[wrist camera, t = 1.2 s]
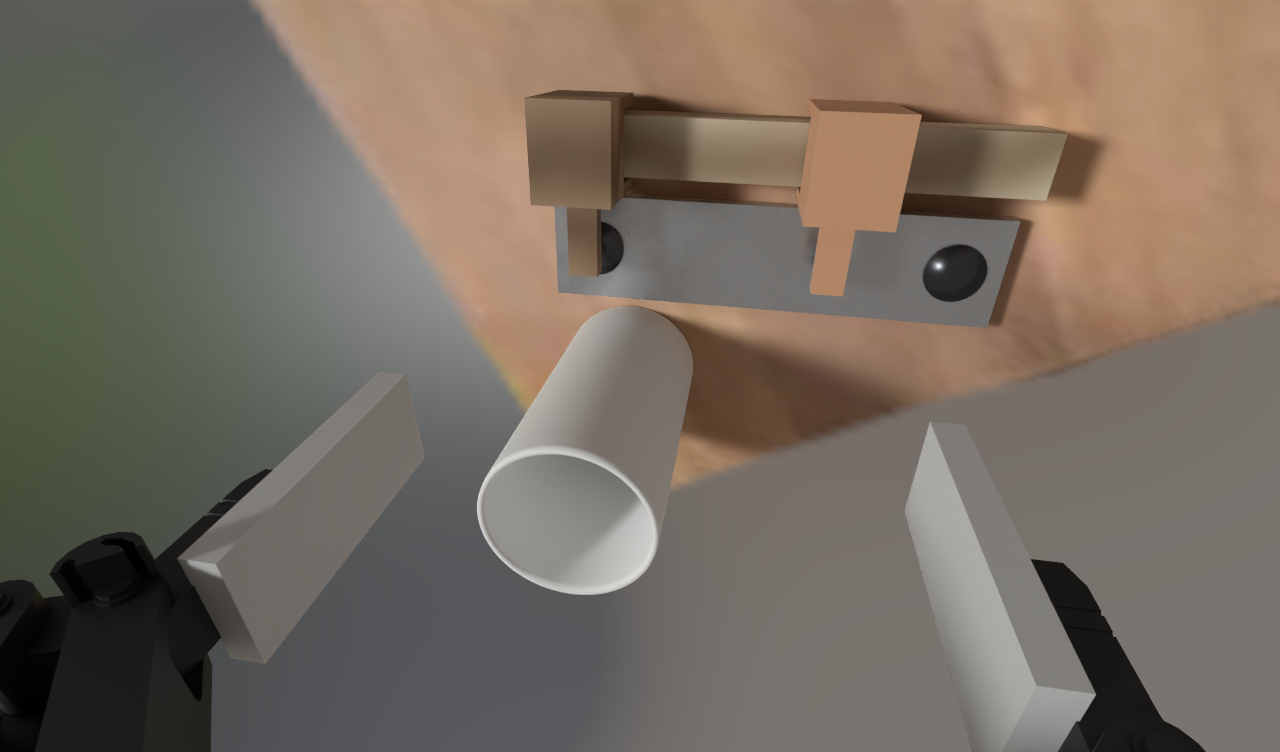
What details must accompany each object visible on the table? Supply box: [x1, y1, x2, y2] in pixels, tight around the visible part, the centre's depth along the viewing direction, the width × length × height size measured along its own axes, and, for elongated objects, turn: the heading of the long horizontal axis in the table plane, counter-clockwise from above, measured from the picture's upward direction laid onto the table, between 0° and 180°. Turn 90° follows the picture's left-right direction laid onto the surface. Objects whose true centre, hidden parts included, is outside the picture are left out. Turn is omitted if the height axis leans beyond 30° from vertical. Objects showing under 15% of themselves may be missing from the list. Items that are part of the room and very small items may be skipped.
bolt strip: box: [555, 194, 1021, 328], centre depth 35 cm, size 6×25×1 cm, turn 88°
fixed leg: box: [525, 90, 633, 277], centre depth 32 cm, size 9×4×6 cm, turn 178°
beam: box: [624, 109, 1068, 201], centre depth 32 cm, size 3×25×3 cm, turn 88°
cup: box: [477, 306, 693, 595], centre depth 34 cm, size 8×8×16 cm
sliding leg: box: [796, 99, 922, 297], centre depth 30 cm, size 9×4×6 cm, turn 178°
